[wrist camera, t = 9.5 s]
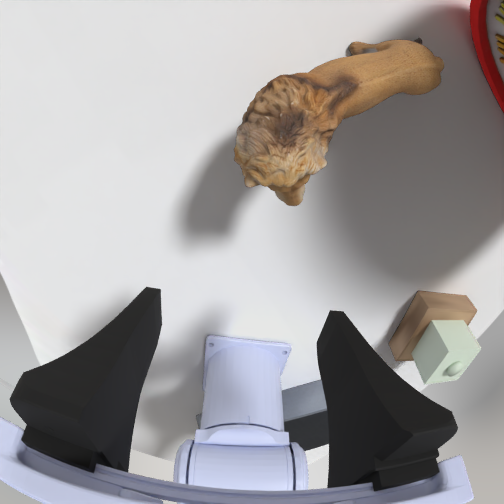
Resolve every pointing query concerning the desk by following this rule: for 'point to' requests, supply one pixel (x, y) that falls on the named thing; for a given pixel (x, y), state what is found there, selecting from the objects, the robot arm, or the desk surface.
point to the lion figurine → (323, 110)
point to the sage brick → (445, 351)
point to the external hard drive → (304, 415)
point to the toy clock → (490, 42)
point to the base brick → (428, 319)
